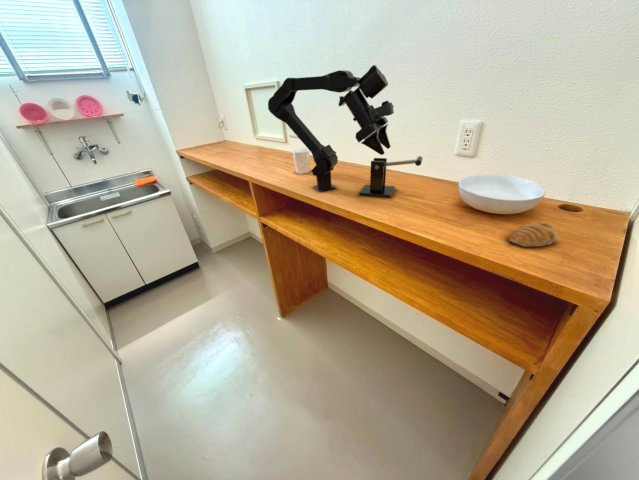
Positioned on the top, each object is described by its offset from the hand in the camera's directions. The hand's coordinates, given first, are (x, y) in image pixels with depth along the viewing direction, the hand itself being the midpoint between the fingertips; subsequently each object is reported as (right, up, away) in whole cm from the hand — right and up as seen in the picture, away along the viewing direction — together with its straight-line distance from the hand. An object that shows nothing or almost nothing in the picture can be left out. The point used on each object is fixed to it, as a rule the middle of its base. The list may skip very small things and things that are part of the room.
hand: (386, 151), depth 83 cm
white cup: (-30, +3, +39) cm, 49 cm away
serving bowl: (+30, -20, -7) cm, 37 cm away
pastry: (+28, -30, -24) cm, 47 cm away
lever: (+4, -5, +2) cm, 7 cm away
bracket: (-1, -12, +9) cm, 15 cm away
